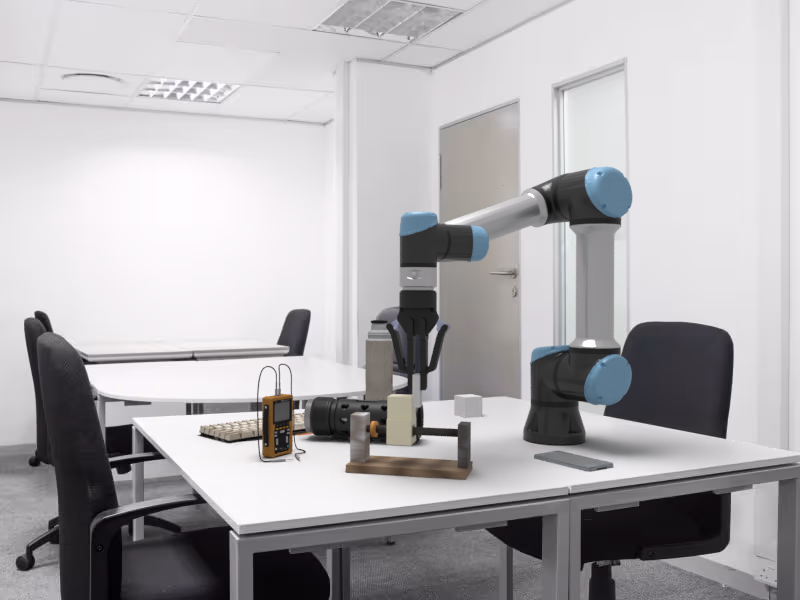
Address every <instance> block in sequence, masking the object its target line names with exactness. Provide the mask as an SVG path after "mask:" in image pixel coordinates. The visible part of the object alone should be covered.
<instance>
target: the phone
mask: <svg viewBox="0 0 800 600" xmlns="http://www.w3.org/2000/svg"><path fill="white" fill-rule="evenodd" d="M533 459H535V460H540V461H542V462H546V463H551V464H555V465H560V466H563V467H566V468H571V469H574V470H579V471H582V472H595V471H597V470H601V469H612V468H614V463H613V462H611V461H607V460H603V459H598V458H595V457H590V456H589V457H588V456H585V455H581V454H577V453H572V452H571V453H570V452H566V451H564V450H552V451H548V452H541V453H534V455H533Z"/></svg>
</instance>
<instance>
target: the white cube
mask: <svg viewBox="0 0 800 600" xmlns="http://www.w3.org/2000/svg"><path fill="white" fill-rule="evenodd" d="M453 397H454V406H453V407H454V409H453V411H454V416H457V417H459V416H460V418H463V419H467V418H468V419H470V418H471V419H472V418H482V417H483V396H482V395H477V394H472V393H468V394H454V395H453Z"/></svg>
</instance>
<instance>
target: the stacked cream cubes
mask: <svg viewBox="0 0 800 600" xmlns="http://www.w3.org/2000/svg"><path fill="white" fill-rule="evenodd" d="M412 427H416V407H412V394H400V393H399V394H398V393H393V394H391V395H389V396H387V440H386V441H385V442H386V445H391V446H393V445H394V446H395V445H396V446H412V445H414V443H417V442H416V435H412Z"/></svg>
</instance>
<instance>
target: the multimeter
mask: <svg viewBox="0 0 800 600" xmlns="http://www.w3.org/2000/svg"><path fill="white" fill-rule="evenodd" d="M281 366H286V367H287V368H288V370H289V373H290V393H289V394H288V393H287V394H286V393H282V388H281V370H280V367H281ZM277 367H278V373H277V370H276V369H275V368H274V367H273V366H270V365H265V366H264V367H263V368H262V369H261V371H260V373H259V376H258V382H257V392H256V393H257V394H256V395H257V397H256V419H257V429H258V440H257V447H258V455H259V460H260V461H261V462H263V463H273V462H274V463H276V462H277V463H278V462H286V461H293V460H294V458H277V459H275V458H276V457H278V456H282V455H286V454H287V455H288V454H292V452H293V447H294V446H295V449H297V450H298V451H301V452H296V453H294V456H295V457H296V458H297V460H299V461H301V457H300V456H299V455H301V454H305V453H306V450H305V449H302V448H298V446H297V444H296V438H295V432H294V414H295V407H294V395H293V374H292V370H291V367H290V366H289V365H288V364H286V363H279V365H278V366H277ZM265 368H271V369H272V370H273V371H274V373H275V389H274V394H273V395H265V396H263V397H262V402H261V403H262V407H261V408H262V409H261V410H262V412H261V414H262V415H261V418H262V440H261V443H262V444H261V445H262V448H260V440H259V420H258V418H259V391H260V380H261V376H262V373H263V371H264V370H265ZM293 433H294V436H293ZM293 444H294V446H293ZM260 449H262V452H261V450H260ZM261 455H262V457H265V458H272V460H263V459H262V457H261ZM273 458H274V459H273Z"/></svg>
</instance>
